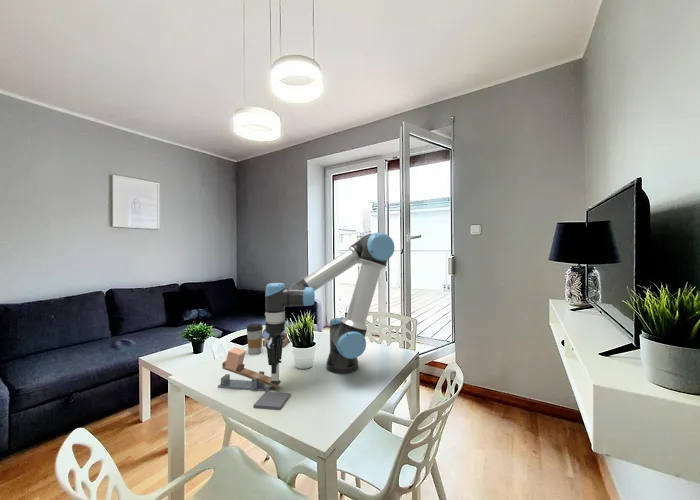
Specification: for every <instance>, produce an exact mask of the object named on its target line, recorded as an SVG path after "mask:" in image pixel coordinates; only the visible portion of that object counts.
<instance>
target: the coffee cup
mask: <svg viewBox="0 0 700 500" xmlns="http://www.w3.org/2000/svg"><path fill="white" fill-rule="evenodd" d="M263 327H264V326H263V324H262V323H258V322H257V323H250V324H247V327H246V335H247V339H246V340H247V347H248V348H247V349H248V354H249V355H250V356H255V355H260V354H261V352H262V347H263V329H264V328H263Z"/></svg>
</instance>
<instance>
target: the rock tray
mask: <svg viewBox="0 0 700 500" xmlns="http://www.w3.org/2000/svg"><path fill="white" fill-rule="evenodd" d="M283 333H284V335H285V339H284V340H283V346H282V349H283V348H285V347H286V346H287V345H289V343H290V342H289V339H288V337H287V333H288V332H283ZM266 343H269V335H268V336H267V337H266V338H264V339H262V347H263V346H266Z"/></svg>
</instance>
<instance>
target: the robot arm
mask: <svg viewBox="0 0 700 500" xmlns="http://www.w3.org/2000/svg"><path fill="white" fill-rule="evenodd" d="M394 252H395V243H394V241H393V239H392V237H391V236H390V235H388V234H387V233H383V232H374V233H369V234H366V235H364V236H362V237H361V238H360V239H358V240H357V241H356V242H354V243H353V244H352V245H350V246H349V247H348V250H346V251H344V252H343V253H342V254H340V255H338V256H337V257H335V258H333V259H332V260H330V261H329V262H328V263H326V264H325V265H322V266H321V267H319V268H318V269H316V270H315V271H313V272H312V273H311V274H309V275H307V276H306V277H304V278H303V279H301V280H300V281H298V282H294V283H293V284H291V286H290V287H286V286H285V285H286V284H285V283H283V282H271V283H270V282H269V283H267V284H266V286H265V295H264V296H265V297H264V298H265V305H264V306H265V313H264V316H265V324H264V325H265V328H264V329H265V330H264V331H265V332H266V333H267V334H268V336H269V343H266V347H265V348H266V353H267V354H266V355H267V361H268V363H267V364H268V366H270V367H271V368H270V370H271V371H270V372H271V373H270V374H271V375H270V377H271V381H278V380H280V364H282V363H283V361H282V358H283V357H282V354H283V348H282V346H283V338H284V335H281V332H283V333H284V332H285V329H286V324H285V320H286V313H285V312H286V311H285V308H286V307H307V306H313V305H314V303H315V296H316V294H315V292H316V291H317V290H319V289H320V288H321V287H323V286H325V285H326V284H328V283H329V282H331V281H332V280H334V279H336V278H337V277H339V276H340V275H341V274H343V273H344V272H346V271H348V270H349V269H350V268H353V267H354V266H356V265H357V264H359V265H360V264H361V266H360V269H359V272H358V276H357V279H356V283H355V286H354V289H353V293H352V296H351V300H350V303H349V306H348V310H347V312H346V316H345V317H336V318H331V319H330V321H329V354H328V357H327V359H326V364H325V365H326V367H325V368H326V370H327V371H329V372H330V373H333V374H343V375H344V374H350V373H354V372H356V371H358V370H359V369H358V368H359V360H358V358H359V357H360V356H362V354H364V352H365V351H366V348H367V341H366V338H365V337H366V336H367V335H366V334H367V331H368V326H367V325H366V321H367V318H368V315H369V312H370V308H371V305H372V302H373V299H374V296H375V295H374V294H375V291H376V288H377V284H378V281H379V278H380V274H381V271H382V270H383V269H385V268H387V264H388V260H389V259H390V258H391V257H392V256H393V255H394Z"/></svg>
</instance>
